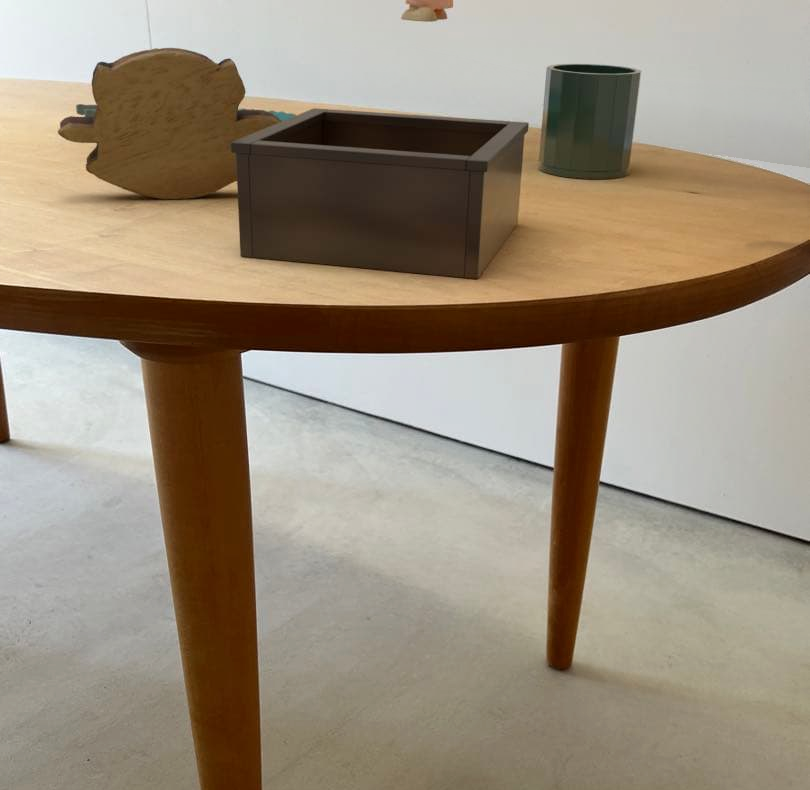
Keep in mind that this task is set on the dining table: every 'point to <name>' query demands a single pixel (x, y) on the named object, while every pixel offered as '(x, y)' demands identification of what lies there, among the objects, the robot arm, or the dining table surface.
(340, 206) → the dark wooden storage bin
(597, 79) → the cup
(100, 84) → the wooden carving
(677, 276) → the dining table surface
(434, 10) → the grandmother figurine
